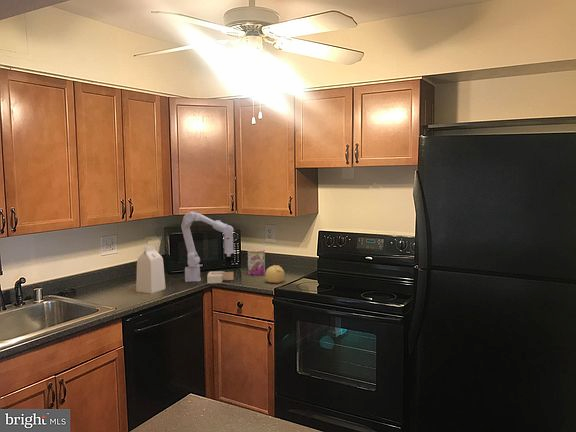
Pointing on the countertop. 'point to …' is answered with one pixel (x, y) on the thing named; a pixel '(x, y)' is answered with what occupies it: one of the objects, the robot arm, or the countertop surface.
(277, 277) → the beige round lump
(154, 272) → the milk
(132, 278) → the countertop surface
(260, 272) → the candy bar box
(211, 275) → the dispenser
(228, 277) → the thin wooden plank
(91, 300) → the countertop surface
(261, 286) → the countertop surface
